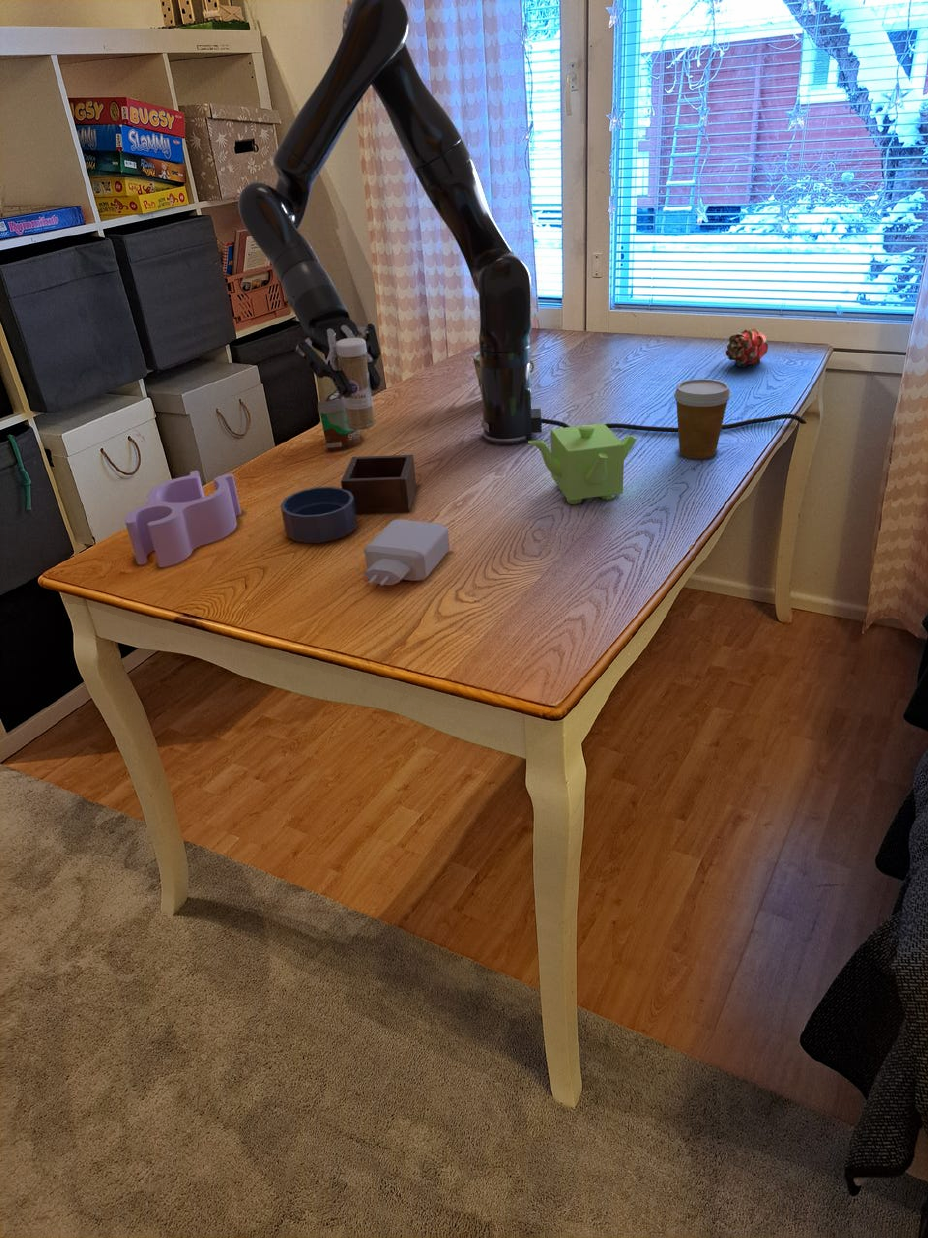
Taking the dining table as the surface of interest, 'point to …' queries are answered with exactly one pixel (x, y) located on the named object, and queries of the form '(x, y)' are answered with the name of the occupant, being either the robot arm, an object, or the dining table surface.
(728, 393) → the disposable coffee cup
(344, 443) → the food container
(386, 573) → the charger
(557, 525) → the dining table surface
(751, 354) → the dragon fruit
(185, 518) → the clip
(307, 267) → the robot arm
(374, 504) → the box
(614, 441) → the kettle
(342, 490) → the bowl
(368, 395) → the sprinkles bottle
